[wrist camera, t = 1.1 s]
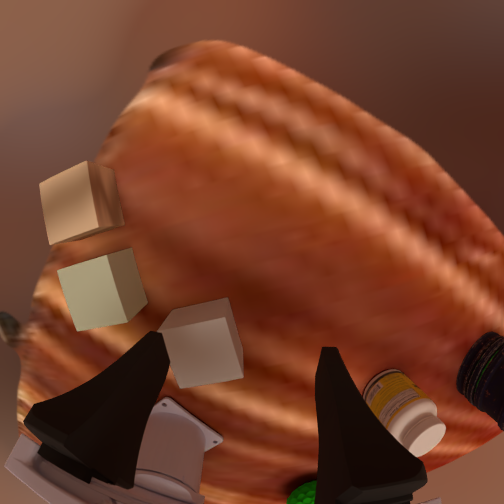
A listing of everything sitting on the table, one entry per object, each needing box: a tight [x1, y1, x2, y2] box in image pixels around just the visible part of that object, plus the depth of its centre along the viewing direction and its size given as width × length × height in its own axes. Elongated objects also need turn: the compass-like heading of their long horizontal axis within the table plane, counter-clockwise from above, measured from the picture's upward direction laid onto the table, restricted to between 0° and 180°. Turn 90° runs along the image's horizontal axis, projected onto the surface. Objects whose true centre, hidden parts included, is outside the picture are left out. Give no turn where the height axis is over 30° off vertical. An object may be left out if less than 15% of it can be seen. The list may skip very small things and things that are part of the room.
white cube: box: [157, 297, 244, 389], centre depth 21 cm, size 5×5×5 cm
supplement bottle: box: [363, 369, 446, 457], centre depth 20 cm, size 5×5×10 cm
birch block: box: [39, 161, 125, 245], centre depth 20 cm, size 5×5×5 cm
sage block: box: [57, 247, 148, 331], centre depth 20 cm, size 5×5×5 cm
